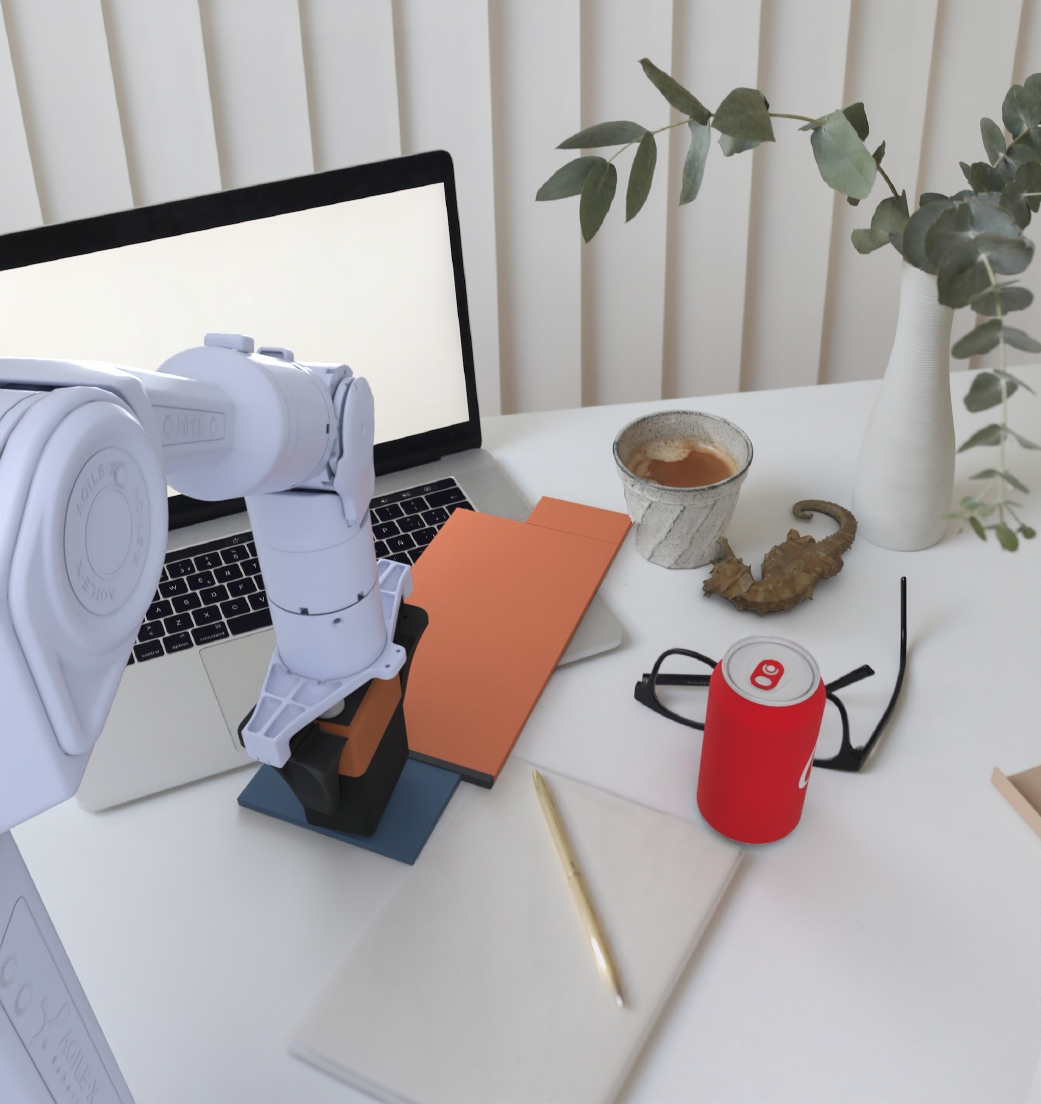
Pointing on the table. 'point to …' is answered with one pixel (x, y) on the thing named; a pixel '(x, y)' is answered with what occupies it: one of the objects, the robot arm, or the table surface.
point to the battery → (365, 755)
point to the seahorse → (784, 565)
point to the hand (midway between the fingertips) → (353, 755)
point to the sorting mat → (476, 657)
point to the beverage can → (760, 738)
